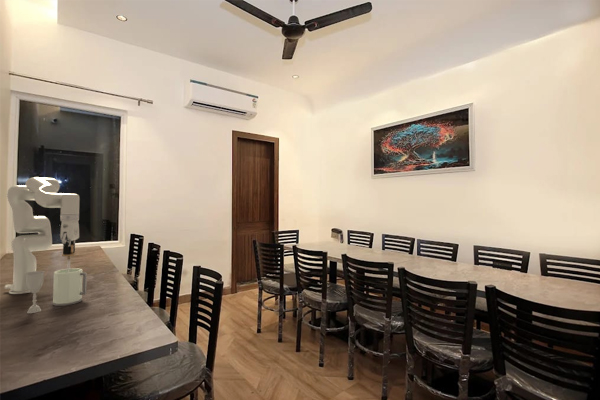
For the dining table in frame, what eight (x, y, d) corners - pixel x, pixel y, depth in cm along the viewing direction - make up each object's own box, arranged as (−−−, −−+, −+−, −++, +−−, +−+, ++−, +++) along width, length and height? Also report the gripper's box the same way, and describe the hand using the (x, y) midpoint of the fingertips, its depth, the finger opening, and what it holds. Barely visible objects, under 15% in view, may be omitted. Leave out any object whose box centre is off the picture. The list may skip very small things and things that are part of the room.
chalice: (47, 309, 141) (48, 271, 141) (30, 314, 134) (31, 275, 134) (37, 307, 143) (38, 270, 143) (20, 312, 137) (21, 273, 137)
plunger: (58, 289, 148) (60, 246, 149) (64, 285, 154) (65, 244, 154) (72, 288, 150) (73, 245, 150) (76, 285, 155) (77, 244, 156)
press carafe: (48, 306, 145) (49, 273, 145) (59, 299, 156) (60, 268, 156) (80, 304, 149) (81, 272, 149) (89, 297, 160) (90, 267, 160)
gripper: (71, 218, 145) (70, 256, 145) (84, 217, 161) (84, 250, 161) (53, 218, 143) (52, 256, 143) (68, 217, 159) (67, 251, 159)
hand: (68, 253), depth 152 cm, fingers closed on plunger, 3 cm apart
